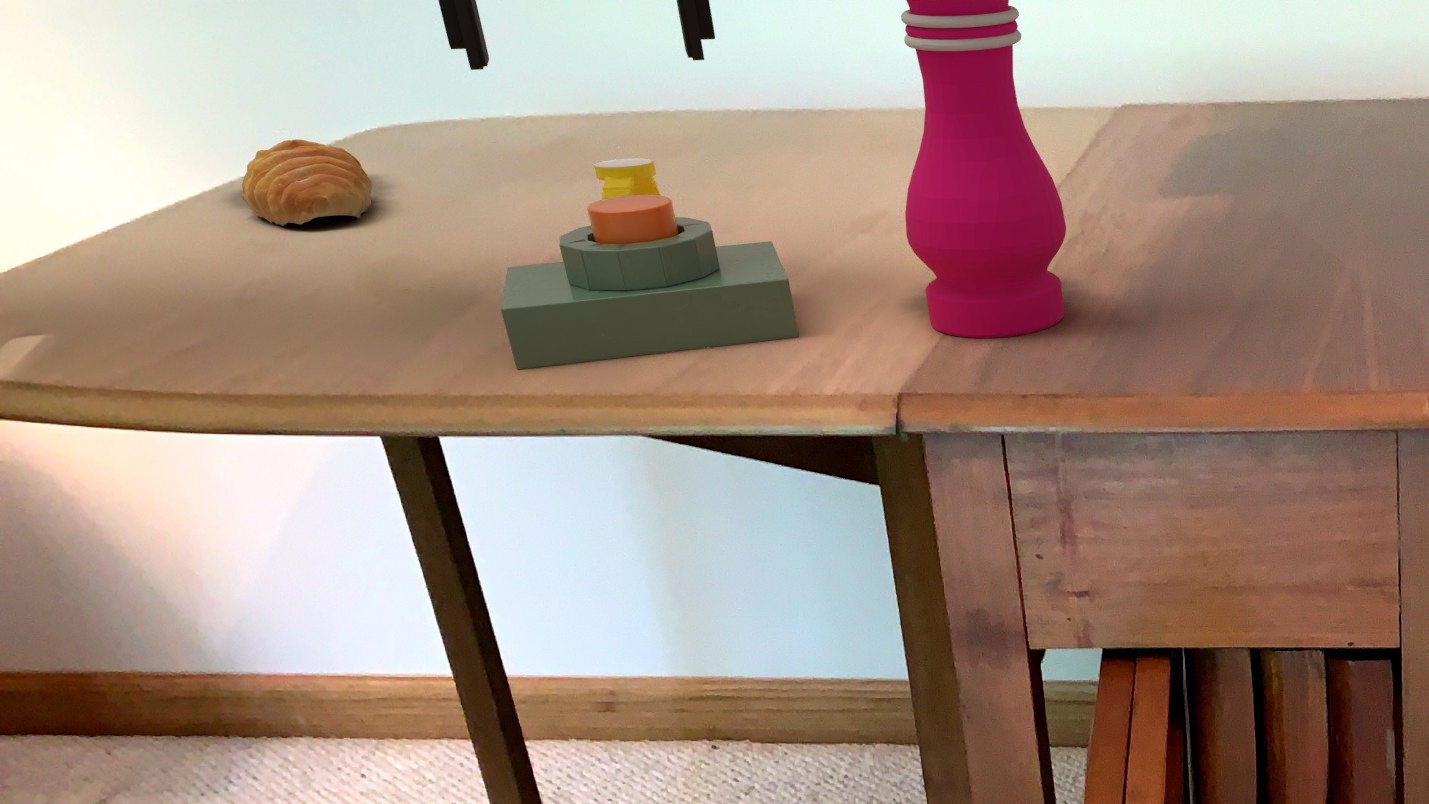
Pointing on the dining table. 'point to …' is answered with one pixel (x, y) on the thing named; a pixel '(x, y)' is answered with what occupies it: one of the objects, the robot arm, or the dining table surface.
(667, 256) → the control box
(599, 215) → the button
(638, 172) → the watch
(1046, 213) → the pepper mill
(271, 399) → the dining table surface
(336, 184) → the pastry
